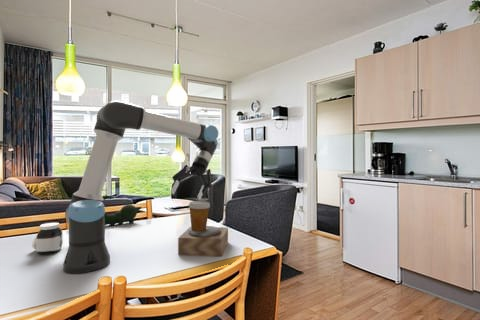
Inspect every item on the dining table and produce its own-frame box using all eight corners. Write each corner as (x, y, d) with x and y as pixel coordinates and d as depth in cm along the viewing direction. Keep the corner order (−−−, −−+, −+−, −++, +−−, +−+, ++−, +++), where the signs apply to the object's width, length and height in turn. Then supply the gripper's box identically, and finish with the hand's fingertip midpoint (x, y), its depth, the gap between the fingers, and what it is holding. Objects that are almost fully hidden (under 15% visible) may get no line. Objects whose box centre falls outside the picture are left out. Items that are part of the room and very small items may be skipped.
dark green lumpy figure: (98, 231, 152) (144, 221, 165) (94, 198, 151) (141, 191, 164) (97, 227, 160) (141, 218, 173) (93, 196, 159) (138, 189, 172)
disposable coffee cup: (213, 229, 122) (214, 202, 122) (198, 233, 114) (199, 204, 114) (198, 225, 127) (199, 200, 127) (183, 229, 120) (184, 202, 120)
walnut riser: (178, 254, 112) (178, 235, 112) (190, 241, 130) (190, 224, 130) (221, 256, 110) (221, 236, 110) (227, 242, 128) (227, 225, 128)
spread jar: (53, 255, 111) (53, 227, 111) (22, 257, 109) (22, 228, 109) (67, 246, 123) (67, 220, 122) (39, 247, 121) (39, 221, 121)
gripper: (225, 169, 139) (211, 205, 126) (181, 162, 145) (163, 194, 132) (223, 160, 133) (208, 196, 121) (178, 152, 140) (159, 185, 127)
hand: (185, 195), depth 126 cm, fingers open, 13 cm apart
